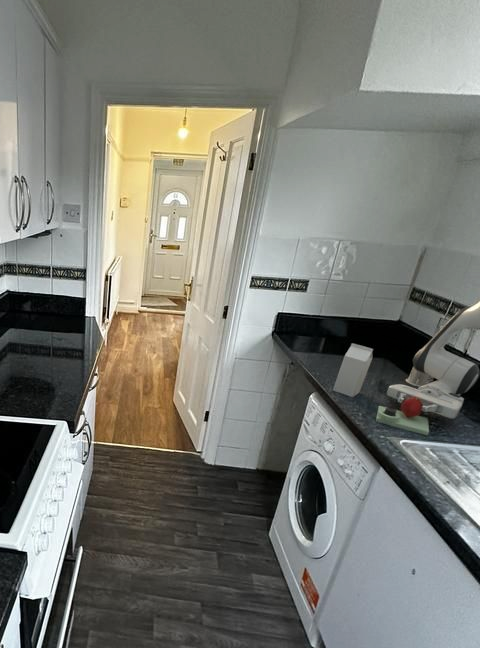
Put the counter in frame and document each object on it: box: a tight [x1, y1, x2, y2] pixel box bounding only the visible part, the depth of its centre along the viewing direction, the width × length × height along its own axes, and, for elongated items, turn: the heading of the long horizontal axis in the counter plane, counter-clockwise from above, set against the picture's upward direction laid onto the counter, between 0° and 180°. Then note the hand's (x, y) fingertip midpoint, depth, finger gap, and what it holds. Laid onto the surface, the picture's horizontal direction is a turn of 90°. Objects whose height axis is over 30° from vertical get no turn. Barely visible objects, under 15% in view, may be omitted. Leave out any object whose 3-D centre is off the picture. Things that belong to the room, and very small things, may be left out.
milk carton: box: [332, 343, 374, 398], centre depth 153 cm, size 7×7×19 cm
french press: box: [405, 325, 444, 388], centre depth 164 cm, size 10×12×25 cm
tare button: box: [384, 407, 397, 416], centre depth 136 cm, size 3×3×2 cm
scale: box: [375, 405, 430, 436], centre depth 137 cm, size 14×12×3 cm
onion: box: [400, 396, 423, 418], centre depth 136 cm, size 6×6×8 cm
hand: (412, 404), depth 135 cm, fingers closed on onion, 5 cm apart
